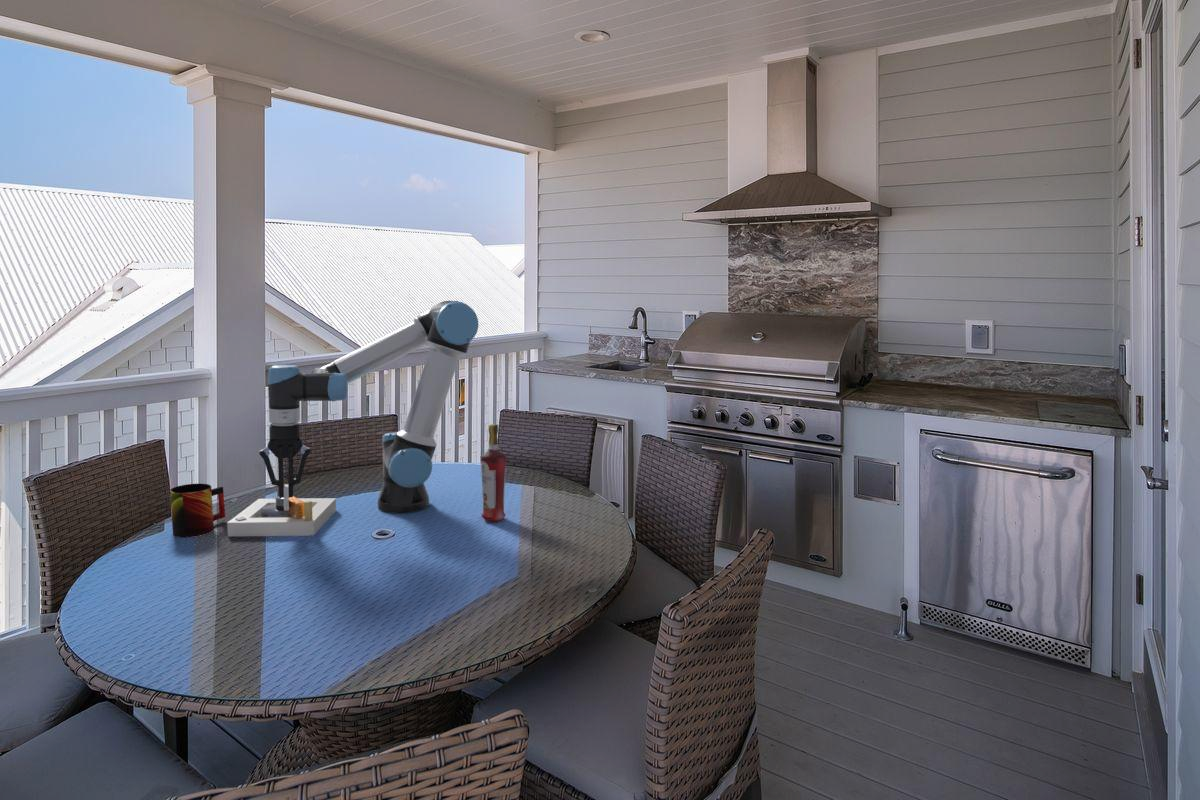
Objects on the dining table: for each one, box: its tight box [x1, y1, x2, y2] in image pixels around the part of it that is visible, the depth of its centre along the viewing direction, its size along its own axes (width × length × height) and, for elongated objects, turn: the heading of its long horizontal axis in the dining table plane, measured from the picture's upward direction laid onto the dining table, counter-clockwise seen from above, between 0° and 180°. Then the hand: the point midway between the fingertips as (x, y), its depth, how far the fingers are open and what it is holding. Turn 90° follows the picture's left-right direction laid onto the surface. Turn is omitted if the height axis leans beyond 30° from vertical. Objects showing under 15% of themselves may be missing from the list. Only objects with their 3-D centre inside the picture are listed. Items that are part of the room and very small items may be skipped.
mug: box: [169, 483, 226, 539], centre depth 194 cm, size 10×14×12 cm
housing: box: [226, 497, 337, 537], centre depth 201 cm, size 22×22×9 cm
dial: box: [261, 495, 304, 518], centre depth 199 cm, size 17×12×6 cm
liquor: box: [480, 423, 507, 523], centre depth 205 cm, size 7×7×28 cm
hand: (286, 509), depth 194 cm, fingers closed
